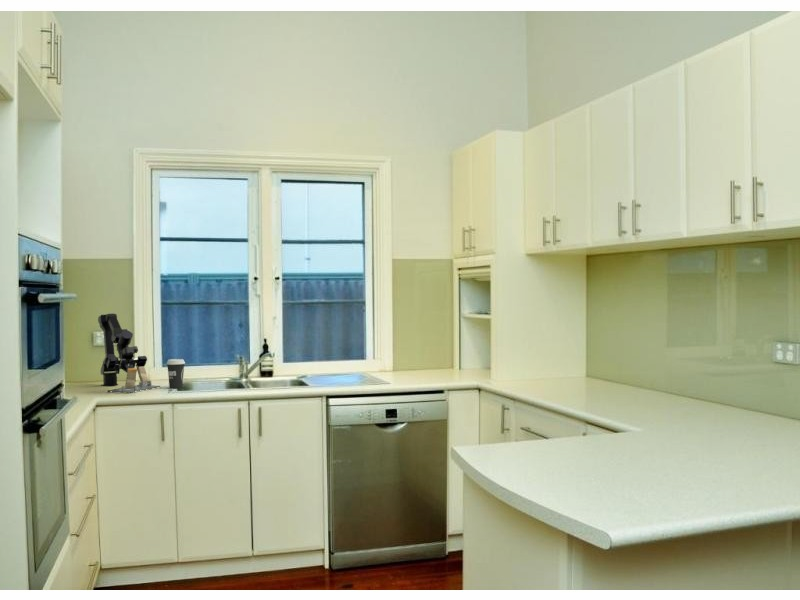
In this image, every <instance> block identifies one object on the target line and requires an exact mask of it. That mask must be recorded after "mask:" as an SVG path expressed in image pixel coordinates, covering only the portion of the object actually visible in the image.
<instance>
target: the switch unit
mask: <svg viewBox="0 0 800 600" xmlns="http://www.w3.org/2000/svg"><path fill="white" fill-rule="evenodd" d="M157 387H160V388H161V385H152V380H148V382H145V383H144V382H141V381H139V382H138V384H135V385H134V387H131V388H126V387H125V385H121V387H119V388H115V389H108V390H106V392H107V391H112V392H111V393H114V392H127V393H126V394H131V393H130V392H134V393H136V392H135V391H139V392H141V391H140V390H144V391H147V390H146V389H149V390H153V389H152V388H155V389H158V388H157Z"/></svg>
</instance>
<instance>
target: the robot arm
mask: <svg viewBox="0 0 800 600" xmlns="http://www.w3.org/2000/svg"><path fill="white" fill-rule="evenodd" d="M97 324H99V327H100V329H101V330H102V332H103V342H104V354H105V357H104V359H103V361H102V364H101V368H100V375H102V376H103V383H102V384H101V386H102V385H108V386H107V387H111V385H113V386H117V385H116V384H118V376H117V374H118V375H119V374H120V372H121V371H120V370H123V372H125V373H127V369H129V368H136V365H137V366H138V367H142V366H144V367H146V364H147V362H148V357H147V356H146V355H138V356H137V358H134V357H135V356H134V354H137V353H139V349H138V346H137V345H134V346H129V345H131V341H132V339H133V337H134V336H133V335H134V333H133V332H132V331H130V330H128V329H127V328H124V329H123V328H122V327H121V325H120V322H119V320H118V316H117V313H107V314H100V315H99V316H98V318H97ZM114 344H116V345H114ZM115 346H116V352H117V353H118V357H117V356H116V355H115V348H114V347H115Z"/></svg>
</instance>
